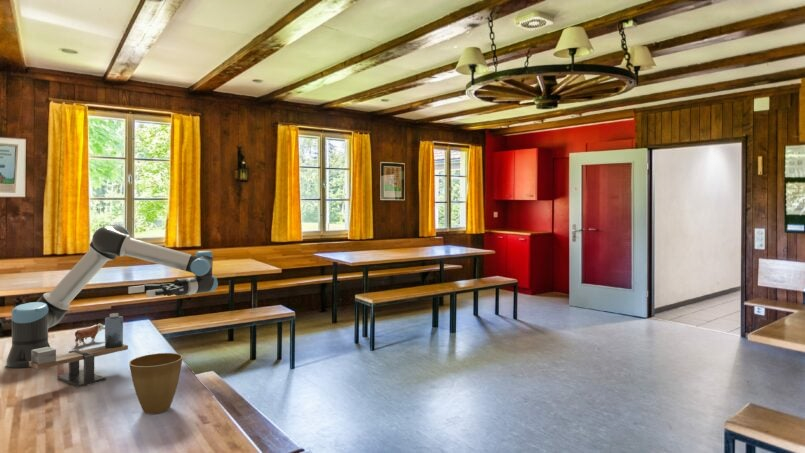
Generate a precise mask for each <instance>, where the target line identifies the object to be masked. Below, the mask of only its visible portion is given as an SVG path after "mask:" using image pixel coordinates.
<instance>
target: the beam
mask: <svg viewBox="0 0 805 453" xmlns="http://www.w3.org/2000/svg"><path fill="white" fill-rule="evenodd" d="M50 347H51V346H50ZM50 347H44V348H39V349H34V350H31V361H30V362H29V366H30V367H29V368H33V369H35V370H38V371H39V370H42V369H47V368H51V367H56V366H60V365H64V364H69V363H70V362H74V361H79V362H80V361H81V360H82V361H84V356H87V355H91V354H94V358H96V357H99V356H103V355H109V354H113V353H119V352H122V351H126V350H128V349H129V345H127V344H124V343H123V346H121V347H118V348H105V345H101V346H96V347H92V348H87V349H83V350H80V349H78V350H77V349H73V350H74V351H73V352H72V353H69V352H67V353H64V354H59V355H57V349H55V348H52V347H51V348H50Z"/></svg>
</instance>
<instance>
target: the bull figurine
mask: <svg viewBox="0 0 805 453" xmlns="http://www.w3.org/2000/svg"><path fill="white" fill-rule="evenodd" d="M103 330H105V325H103V324H102V323H98V324H94V325H92V326H89V327H86V328H82V329H77V330H76V331H75V332H74V336H75V338H74V339H75V340H74V342H75V345H76V346H79V344H82V345H87V343H86V341H85V340H87V338H91V342H92V343H96V341H95V338H96V336H97V335H98V334H99V332H100V331H103ZM84 339H85V340H84Z"/></svg>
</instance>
